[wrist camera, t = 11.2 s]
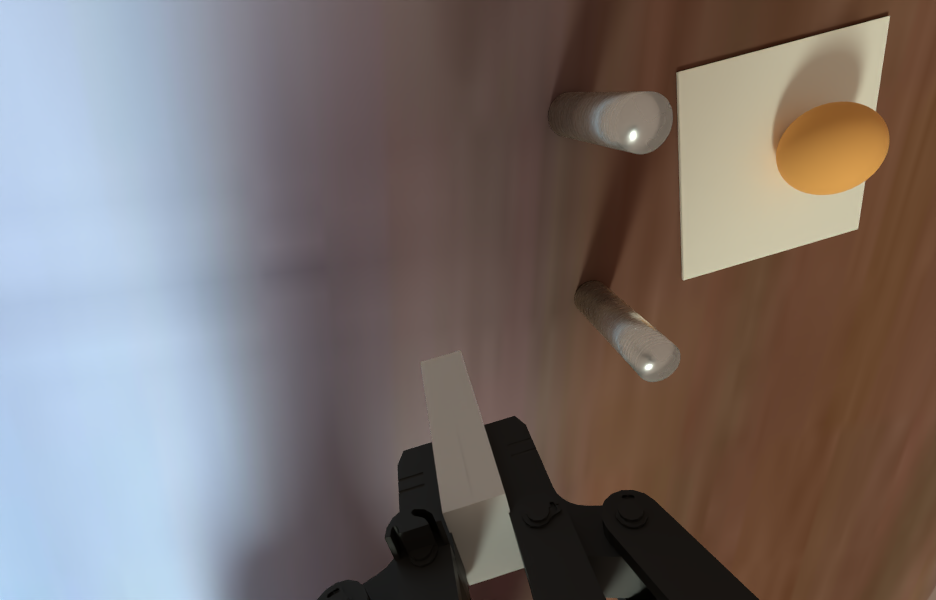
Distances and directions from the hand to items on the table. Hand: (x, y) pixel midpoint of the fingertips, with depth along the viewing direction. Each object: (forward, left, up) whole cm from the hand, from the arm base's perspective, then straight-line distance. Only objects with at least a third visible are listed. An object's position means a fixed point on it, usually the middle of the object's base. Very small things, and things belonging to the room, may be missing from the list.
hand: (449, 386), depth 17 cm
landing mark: (+25, 0, -14) cm, 29 cm away
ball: (+26, +1, -12) cm, 29 cm away
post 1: (+11, +6, -14) cm, 19 cm away
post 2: (+11, -6, -14) cm, 19 cm away
